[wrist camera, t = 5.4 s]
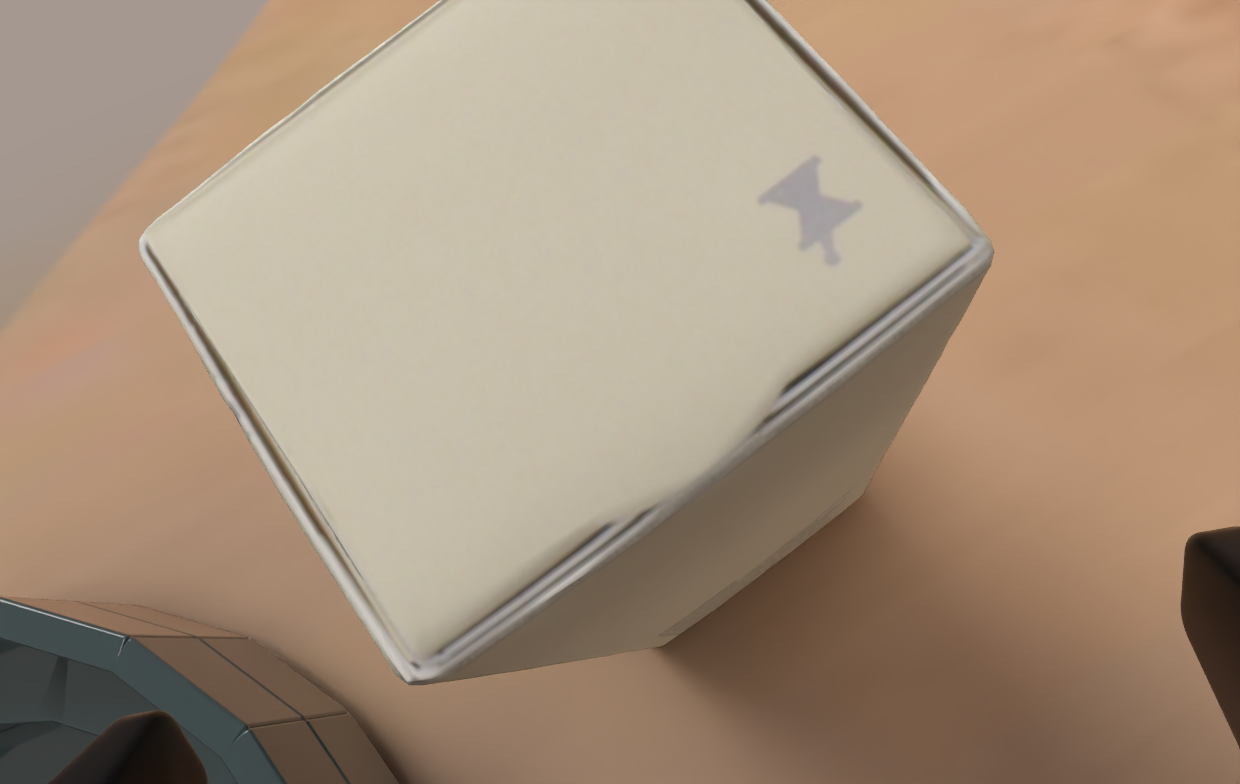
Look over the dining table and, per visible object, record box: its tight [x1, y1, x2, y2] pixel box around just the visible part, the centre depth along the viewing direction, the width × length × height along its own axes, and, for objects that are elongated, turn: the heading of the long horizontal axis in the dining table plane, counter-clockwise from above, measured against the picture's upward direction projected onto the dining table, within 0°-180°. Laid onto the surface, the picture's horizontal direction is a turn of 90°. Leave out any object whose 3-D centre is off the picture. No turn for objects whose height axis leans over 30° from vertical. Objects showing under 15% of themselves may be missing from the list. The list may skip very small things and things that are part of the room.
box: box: [139, 0, 994, 685], centre depth 14 cm, size 5×4×13 cm
